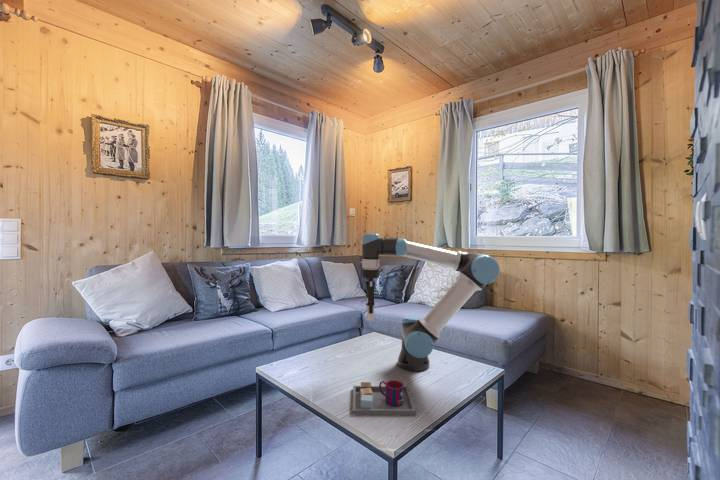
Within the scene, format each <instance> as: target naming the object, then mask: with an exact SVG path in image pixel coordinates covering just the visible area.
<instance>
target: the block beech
mask: <svg viewBox="0 0 720 480" xmlns="http://www.w3.org/2000/svg"><path fill="white" fill-rule="evenodd" d="M362 395H373V392H372V390H371V388H363V389H360V400H361V397H362Z"/></svg>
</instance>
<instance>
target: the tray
mask: <svg viewBox="0 0 720 480" xmlns="http://www.w3.org/2000/svg"><path fill="white" fill-rule="evenodd" d="M352 388H353V389H352V415H353V416H416V415H417V414H416V413H417V411H416V407H415V404H414V401H413V399H412V398H413V397H412V395H411V393H410V389H409V385H404V398H403V404H402V405H401V406H398V407H393V406H390V405H388V404H387V403H386V401H385V399H386V397H385V396H384V395H383V394H382V393H381V392H380V389H379V385H371V390H372V392H373V407H372V409H361V400H360V389H361V385H352ZM381 389H382V391H383V392H384V393H385V394H386V385H381Z"/></svg>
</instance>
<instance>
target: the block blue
mask: <svg viewBox="0 0 720 480" xmlns="http://www.w3.org/2000/svg"><path fill="white" fill-rule="evenodd" d="M372 407H373V395H362V397H361V409H372Z"/></svg>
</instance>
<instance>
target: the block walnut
mask: <svg viewBox="0 0 720 480" xmlns="http://www.w3.org/2000/svg"><path fill="white" fill-rule="evenodd" d="M360 386H361V389H363V388H371V386H372V382H371V381H361V382H360Z"/></svg>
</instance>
